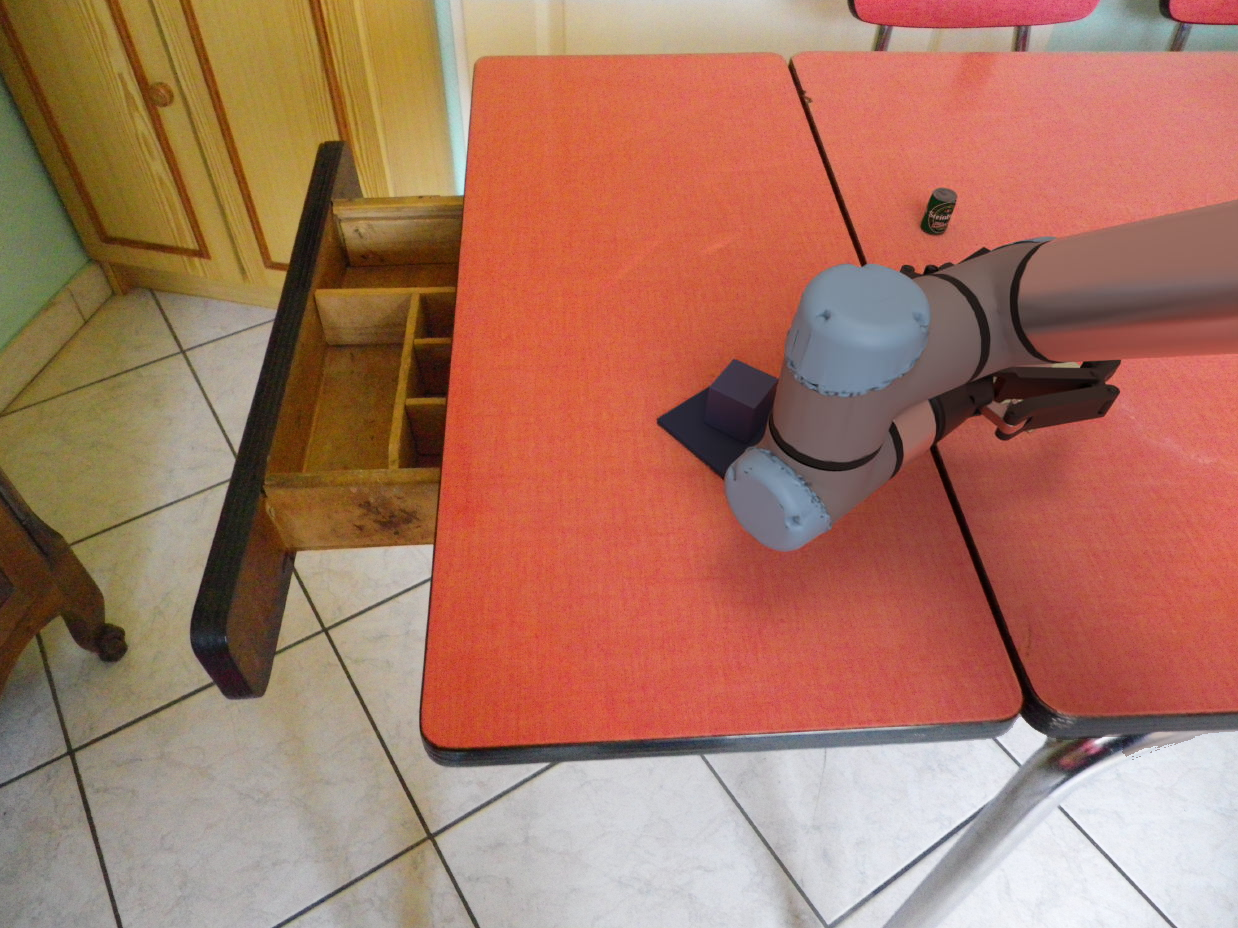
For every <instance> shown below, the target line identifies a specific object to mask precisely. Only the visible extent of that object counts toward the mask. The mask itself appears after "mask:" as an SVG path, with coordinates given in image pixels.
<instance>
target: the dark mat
mask: <svg viewBox="0 0 1238 928" xmlns="http://www.w3.org/2000/svg"><path fill="white" fill-rule="evenodd" d="M708 390H709V386H707V387H706V388H704V389H703V390H701V391H699V392H698V393H696V394H695V395H693V396H691V397H689V398H688V399H686V400H685V401H683V402H681V403H680V404H678V405H677V406H675V407H673V408H672V409H670V410H668V411H667V412H665V413H664V414H662V415H661V416H659V417H657V418H656V424H658V426H660V427H661V428H662V429H664V430H665V431H666V432H667V433H668V434H669V435H671V436H672V437H673V438H674V439H675V440H676V441H677V442H679V443H680V444H681V445H683V446H684V447H685V449H687V450H688V451H689V452H690V453H692V454H693V455H694V456H696V458H698V459H699V460H700V461H702V462H703V463H704V464H705V465H706V466H707V467H708V468H710V470H712V471H713V472H714V473H716V474H717V475H718V476H719V477H721V478H722V479H723V480H724V479H725V475H726V471H727V469H728V468H729V466H730V465H731V464H732V463H733V462H734V461H736V460H737V459H738V458H739V457H740V456H741V455H742V454H743V453H744V452H745V451H746V449H747V448H749V447H753V446H755V445H757V444H759V443H760V441H761V440H762V439H763V437H764V435H765V431H766V427H767V422H768V418H769V417H768V418H767V420H766V421H765V422H764V423H763V425H762V426H761V427H760V429H759V430H758V431H757V432H756V434H755V435H754V436H753V437H752V439H751V440H750V441H749V442H748V444H746V443H744V442H742V441H740V440H738V439H736V438H734V437H732V436H730V435H728V434H726V433H724V432H722V431H720V430H718V429H716V428H714V427H712V426H710V425H708V424H706V423H704V417H705V410H706V404H707V397H708ZM776 391H777V390H776ZM775 396H776V394H775ZM774 400H775V398H774ZM773 404H774V403H773ZM772 408H773V407H772Z"/></svg>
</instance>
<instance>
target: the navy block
mask: <svg viewBox="0 0 1238 928" xmlns="http://www.w3.org/2000/svg"><path fill="white" fill-rule="evenodd" d="M778 382H779V378H778V377H776V376H773V375H772V374H769V373H768V372H765V371H763V370H760V369H758V368H757V367H754V366H752V365H749V364H748V363H745V362H743V361H742V360H739V359H737V358H733V359H732V360H731V362H729V364H728V365H726V367H725V368H724V369H723V371H722V372H720V374H719V375H718V376H717V377H716V378H715V380H714V381H712V382H711V384H710V385H709V386H708V387H709V390H708V397H707V404H706V410H705V417H704V423H706V424H708V425H710V426H712V427H714V428H716V429H718V430H720V431H722V432H724V433H726V434H728V435H730V436H732V437H734V438H736V439H738V440H740V441H742V442H744V443H746V444H748V442H749V441H750V440H751V439H752V437H753V436H754V435H755V434H756V432H757V431H758V430H759V429H760V427H761V426H762V425H763V423H764V422H765V421H766V420H767V418H768V417H769V414H770V411H771V409H772V407H773V403H774V398H775V394H776V390H777V387H778Z"/></svg>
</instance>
